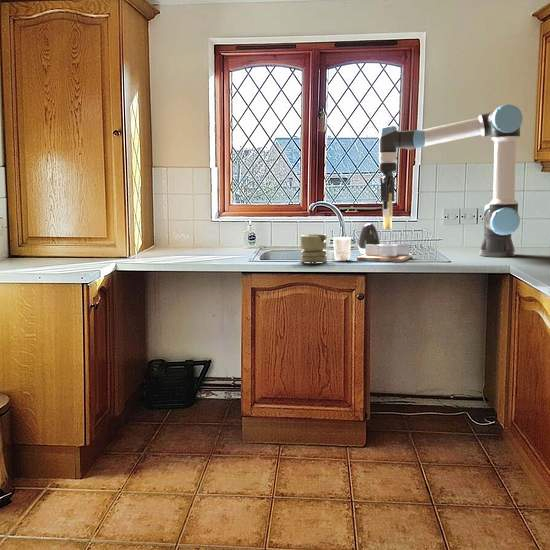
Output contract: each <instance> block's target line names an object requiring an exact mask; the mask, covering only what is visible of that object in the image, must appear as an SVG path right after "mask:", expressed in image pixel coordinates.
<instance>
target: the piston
mask: <svg viewBox="0 0 550 550" xmlns="http://www.w3.org/2000/svg"><path fill="white" fill-rule="evenodd" d="M327 246H328V245H327V234H323V233H321V234H320V233H319V234H318V233H314V234H313V233H309V234H308V235H301V234H300V249H301V251H300V255H301V256H300V263H301V262H310V263H312V262H313V263H316V262H326V263H327V261H328V258H327V253H328V252H327V250H325V249H327Z"/></svg>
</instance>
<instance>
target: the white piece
mask: <svg viewBox="0 0 550 550" xmlns="http://www.w3.org/2000/svg"><path fill="white" fill-rule="evenodd" d="M409 254H410V243H398V244H397V243H382V244H381V243H380V245H371V244H366V256H378V257H397V256H400V255H409Z"/></svg>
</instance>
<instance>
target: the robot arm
mask: <svg viewBox="0 0 550 550" xmlns="http://www.w3.org/2000/svg"><path fill="white" fill-rule="evenodd" d="M523 120H524V119H523V113H522V111H521V109H520V108H519V107H518V106H516V105H514V104H510V103H508V104H507V103H506V104H501V105H499V106H498V107H496V108H495V109H493V110H492V111H490V112H487V113H482V114H479V116H478V117H475V118H471V119H466V120H461V121H457V122H453V123H448V124H442V125H439V126H434V127H429V128H425V129H415V130H414V129H413V130H398V129H397V126H395V125H387V126H385V125H383V126H381V127H380V128H379V131H378V132H379V133H378V134H379V135H378V154H379V155H378V156H377V157H378V161H379V162H380V163H379V164H378V171H379V172H380V173H382V176H381V177H380V178H379V181H380V202H381V203H382V217H389V202H388V201H389V193H392V202H395V200H396V199H395V184H396V183H395V182H396V177H394V172H397V163H396V162H397V161H398V160H397V159H398V157H397V153H398V152H397V151H398V150H397V149H406V150H407V151H412V150H413V151H414V150H416V149H421V148H424V147H428V146H432V145H438V144H443V143H449V142H453V141H457V140H463V139H467V138H472V137H476V136H477V137H478V136H481V137H484V138H485V137H489V136H490V140H491V141H492V142H493V143H494V145H493V146H494V147H493V149H494V151H493V189H492V191H493V193H492V195H493V196H492V197H493V198H492V200H491V201H490V202H489V204H486V205H485V206H484V210H483V213H484V217H483V218H484V221H483V223H484V224H483V226H484V227H483V241H482V243H481V246H480V249H479V256H484V257H488V258H489V257H493V258H496V257H497V258H502V257H503V258H507V257H508V258H509V257H515V256H516V250H515V246H514V243H513V240H512V234H513V233H514V232H516V230H518V228H519V226H520V224H521V223H520V222H521V218H520V215H519V202H518V201H517V200H516V199H515V193H516V153H517V152H516V151H517V150H516V149H517V141H518V140H519V139H520V138H521V125H522V124H523Z"/></svg>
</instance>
